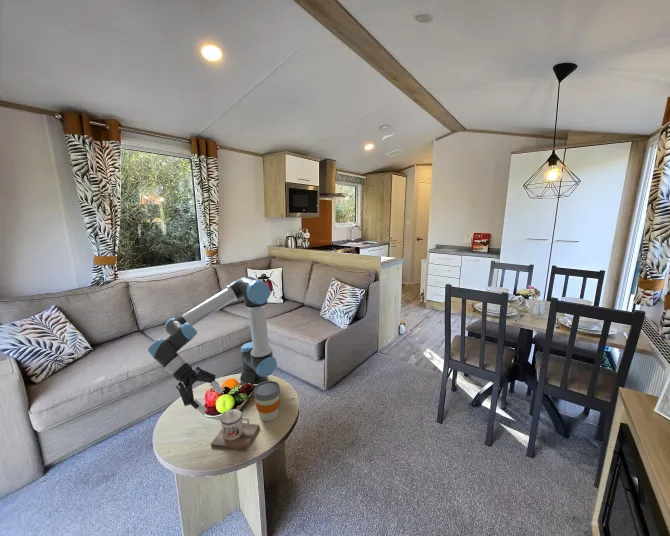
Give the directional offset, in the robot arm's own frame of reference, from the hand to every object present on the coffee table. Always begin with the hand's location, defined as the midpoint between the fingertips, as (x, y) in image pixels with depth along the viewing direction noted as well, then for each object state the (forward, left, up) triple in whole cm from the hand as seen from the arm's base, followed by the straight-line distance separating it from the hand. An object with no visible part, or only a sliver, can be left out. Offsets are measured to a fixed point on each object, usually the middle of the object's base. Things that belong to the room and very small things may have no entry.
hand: (213, 401), depth 132 cm
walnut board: (0, +9, -17) cm, 19 cm away
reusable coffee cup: (-16, +18, -17) cm, 30 cm away
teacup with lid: (-1, +9, -16) cm, 18 cm away
